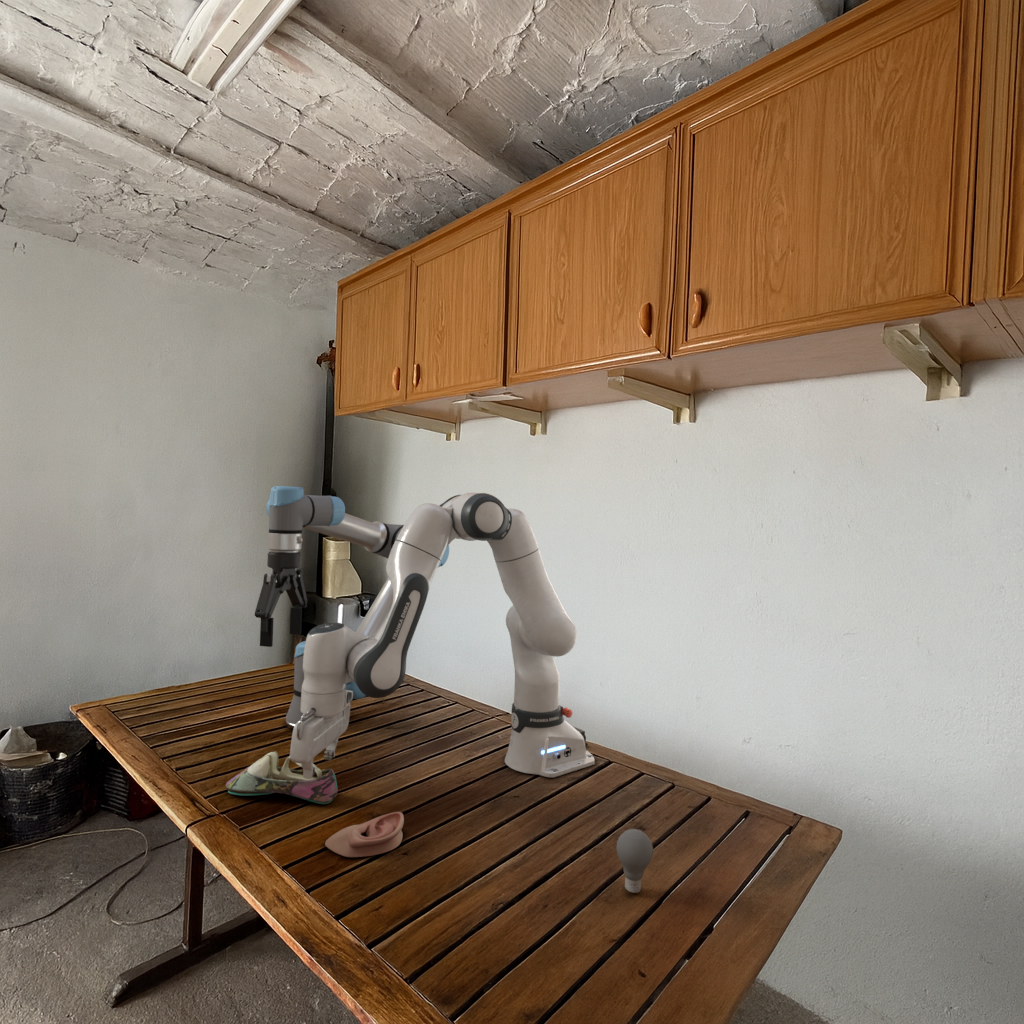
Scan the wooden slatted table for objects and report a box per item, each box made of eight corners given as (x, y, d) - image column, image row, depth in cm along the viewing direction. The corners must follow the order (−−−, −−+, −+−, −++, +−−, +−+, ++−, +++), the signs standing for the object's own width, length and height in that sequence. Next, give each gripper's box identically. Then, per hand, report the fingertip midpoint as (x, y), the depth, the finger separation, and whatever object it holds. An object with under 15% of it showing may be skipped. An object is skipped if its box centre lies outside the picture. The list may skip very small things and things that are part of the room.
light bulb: (610, 879, 108) (613, 822, 108) (644, 879, 109) (647, 822, 109) (619, 902, 102) (622, 840, 102) (655, 901, 103) (658, 840, 103)
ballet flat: (241, 780, 140) (242, 741, 140) (345, 792, 136) (346, 753, 136) (217, 797, 131) (219, 756, 131) (328, 811, 128) (329, 769, 128)
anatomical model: (317, 830, 113) (346, 800, 124) (316, 852, 113) (345, 821, 124) (387, 841, 110) (410, 810, 121) (386, 864, 110) (410, 831, 121)
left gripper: (271, 556, 138) (268, 653, 138) (323, 548, 162) (319, 630, 163) (239, 554, 139) (236, 650, 139) (295, 546, 163) (292, 628, 164)
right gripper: (314, 719, 121) (310, 791, 122) (356, 689, 142) (352, 751, 142) (283, 716, 122) (279, 787, 122) (329, 686, 143) (326, 747, 143)
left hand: (281, 640), depth 151 cm, fingers open, 13 cm apart
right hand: (319, 767), depth 132 cm, fingers open, 8 cm apart
